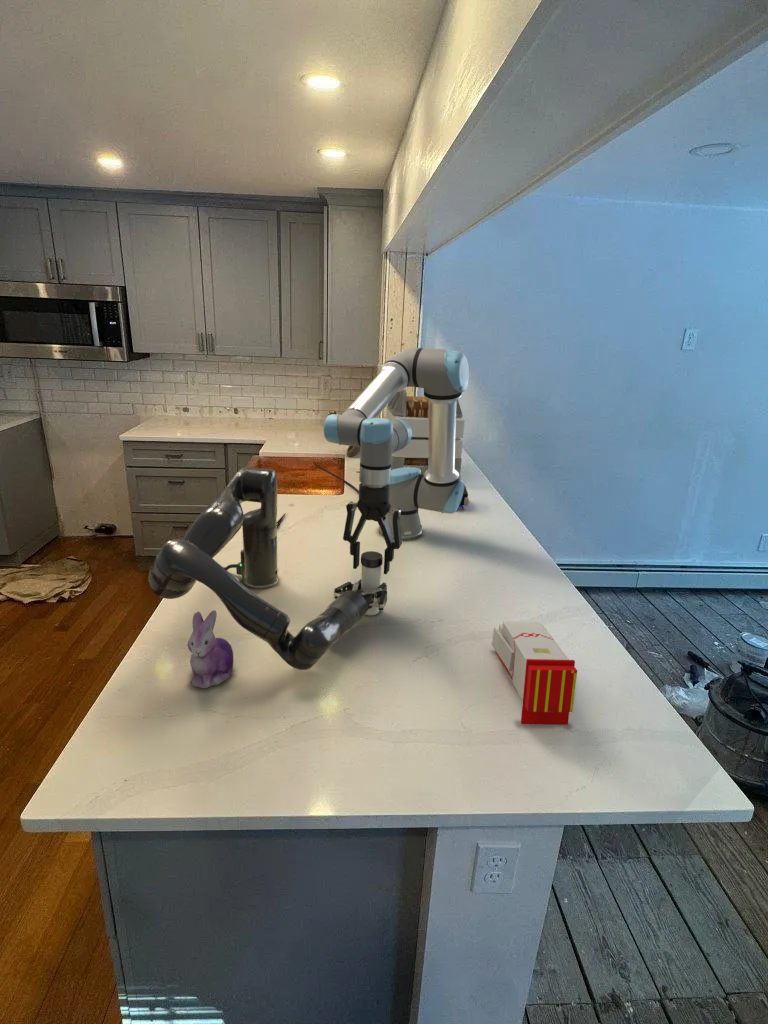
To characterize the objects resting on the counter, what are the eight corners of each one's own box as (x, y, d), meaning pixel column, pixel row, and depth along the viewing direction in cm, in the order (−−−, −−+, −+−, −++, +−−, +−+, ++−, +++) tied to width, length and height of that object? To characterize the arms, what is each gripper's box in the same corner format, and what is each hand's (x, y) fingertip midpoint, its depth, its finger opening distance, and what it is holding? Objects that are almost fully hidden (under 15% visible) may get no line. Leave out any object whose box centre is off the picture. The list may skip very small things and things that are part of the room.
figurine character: (468, 514, 225) (463, 498, 239) (470, 497, 222) (465, 482, 235) (451, 514, 225) (447, 498, 238) (453, 497, 222) (449, 481, 235)
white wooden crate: (382, 463, 289) (386, 382, 275) (445, 464, 293) (451, 384, 279) (390, 482, 257) (394, 392, 243) (460, 483, 261) (468, 394, 247)
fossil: (346, 440, 316) (367, 425, 311) (357, 453, 319) (378, 438, 314) (340, 453, 296) (362, 438, 291) (351, 468, 299) (374, 452, 294)
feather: (292, 507, 224) (294, 503, 223) (275, 531, 197) (278, 527, 197) (288, 505, 224) (291, 501, 223) (271, 528, 197) (273, 524, 197)
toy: (538, 606, 134) (586, 666, 105) (533, 659, 137) (578, 731, 108) (487, 605, 134) (521, 665, 105) (483, 658, 137) (515, 730, 107)
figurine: (194, 695, 113) (188, 630, 108) (185, 667, 122) (179, 606, 117) (241, 683, 118) (238, 620, 112) (229, 657, 126) (226, 597, 121)
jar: (383, 610, 149) (385, 557, 144) (370, 617, 145) (372, 563, 140) (369, 603, 152) (371, 551, 147) (356, 610, 148) (357, 556, 143)
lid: (386, 563, 144) (387, 555, 144) (372, 570, 140) (372, 562, 140) (370, 557, 148) (371, 549, 147) (356, 563, 144) (356, 555, 143)
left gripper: (318, 618, 138) (350, 590, 153) (371, 633, 133) (399, 602, 147) (318, 591, 135) (351, 564, 150) (372, 605, 130) (401, 576, 145)
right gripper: (419, 484, 138) (413, 570, 145) (341, 474, 143) (339, 557, 151) (411, 493, 131) (405, 582, 138) (329, 482, 136) (328, 568, 144)
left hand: (375, 583), depth 149 cm, fingers closed on jar, 5 cm apart
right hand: (371, 569), depth 144 cm, fingers open, 7 cm apart
